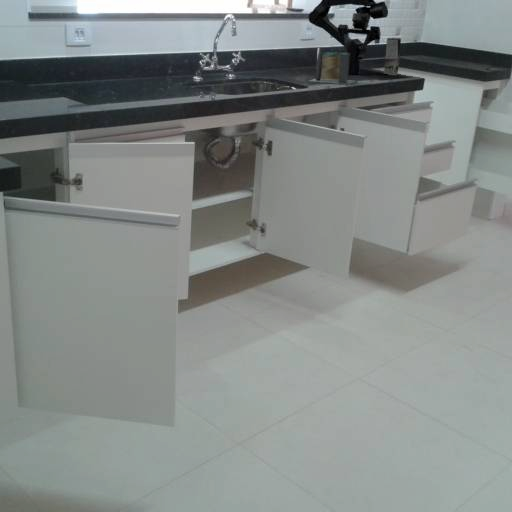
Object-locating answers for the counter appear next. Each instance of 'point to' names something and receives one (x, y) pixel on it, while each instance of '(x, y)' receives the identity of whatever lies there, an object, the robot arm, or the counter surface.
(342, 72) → the gate frame
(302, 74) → the counter surface
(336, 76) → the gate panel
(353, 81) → the gate mat
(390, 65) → the coffee box
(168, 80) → the counter surface
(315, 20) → the robot arm
